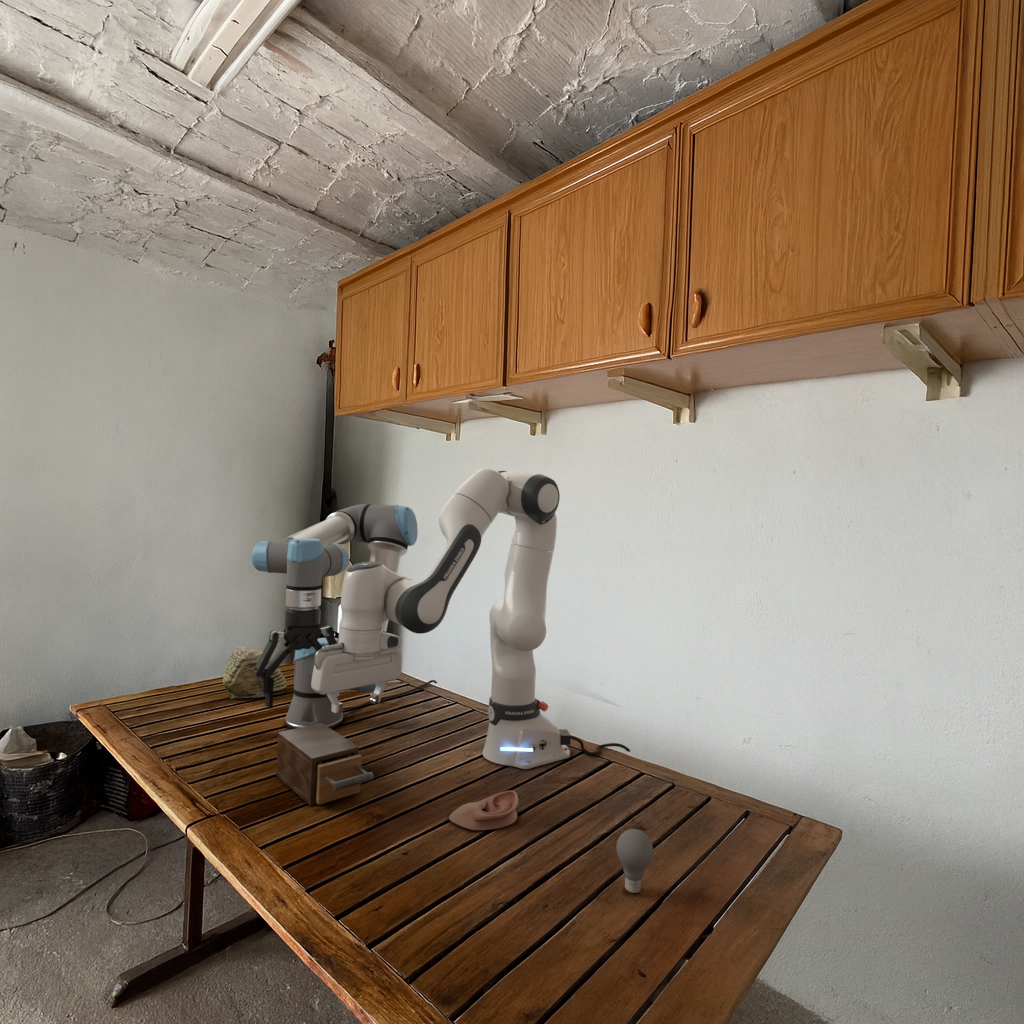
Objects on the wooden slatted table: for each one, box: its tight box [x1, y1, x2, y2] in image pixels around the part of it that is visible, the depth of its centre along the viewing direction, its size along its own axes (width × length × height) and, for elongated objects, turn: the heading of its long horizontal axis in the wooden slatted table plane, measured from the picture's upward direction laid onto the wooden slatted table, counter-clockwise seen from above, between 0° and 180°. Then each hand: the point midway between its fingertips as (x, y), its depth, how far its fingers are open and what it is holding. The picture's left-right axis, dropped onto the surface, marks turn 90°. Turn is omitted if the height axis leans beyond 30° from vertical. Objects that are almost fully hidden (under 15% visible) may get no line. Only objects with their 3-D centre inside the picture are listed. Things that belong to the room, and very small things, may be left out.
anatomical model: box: [448, 790, 519, 831], centre depth 128 cm, size 13×4×12 cm
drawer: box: [315, 754, 375, 806], centre depth 135 cm, size 23×9×8 cm, turn 42°
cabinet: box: [275, 723, 360, 806], centre depth 140 cm, size 18×11×10 cm, turn 42°
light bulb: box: [615, 828, 654, 894], centre depth 106 cm, size 6×6×10 cm
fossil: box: [222, 646, 288, 699], centre depth 198 cm, size 9×18×15 cm, turn 132°
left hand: (299, 701), depth 142 cm, fingers open, 13 cm apart
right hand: (356, 707), depth 131 cm, fingers open, 8 cm apart
